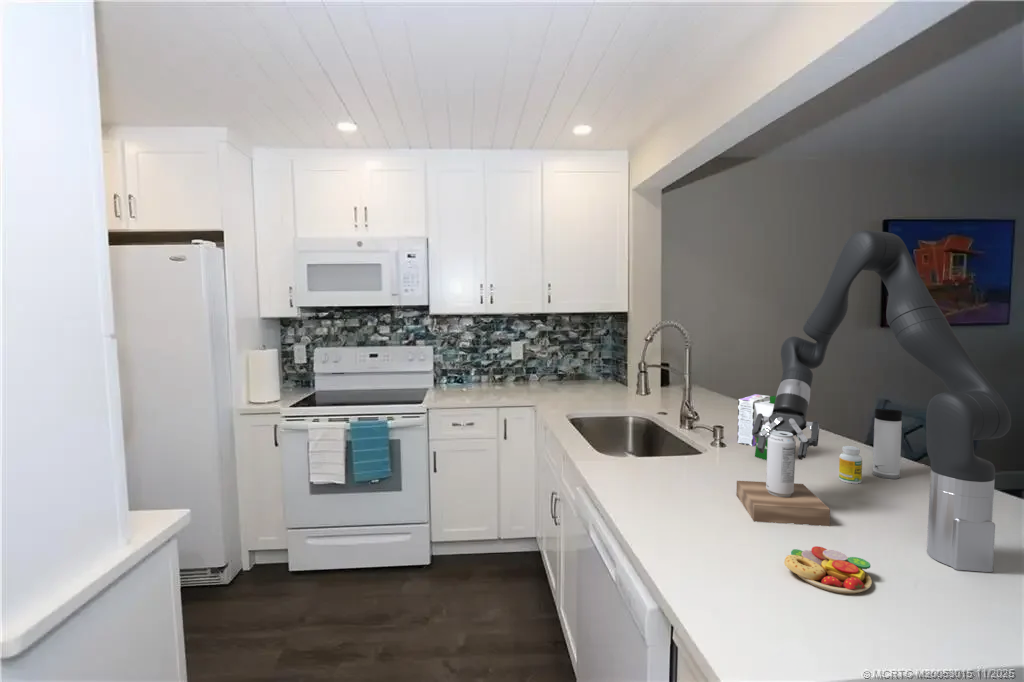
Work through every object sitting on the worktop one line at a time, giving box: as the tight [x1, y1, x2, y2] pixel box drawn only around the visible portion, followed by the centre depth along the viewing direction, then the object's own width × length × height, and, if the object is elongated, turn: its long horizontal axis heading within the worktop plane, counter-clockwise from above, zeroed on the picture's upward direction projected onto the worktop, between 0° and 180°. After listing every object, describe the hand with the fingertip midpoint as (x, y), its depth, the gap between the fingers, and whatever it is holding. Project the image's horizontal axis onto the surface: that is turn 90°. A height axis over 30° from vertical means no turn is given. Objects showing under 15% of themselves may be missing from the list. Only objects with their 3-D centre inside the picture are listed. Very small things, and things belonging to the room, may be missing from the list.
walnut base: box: [735, 480, 831, 527], centre depth 122 cm, size 16×16×4 cm
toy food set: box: [783, 546, 873, 595], centre depth 93 cm, size 13×13×3 cm
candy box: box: [736, 393, 771, 447], centre depth 181 cm, size 14×6×16 cm, turn 130°
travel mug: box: [872, 408, 903, 480], centre depth 143 cm, size 6×7×20 cm
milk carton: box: [754, 395, 776, 461], centre depth 161 cm, size 9×9×20 cm
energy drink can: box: [765, 431, 797, 497], centre depth 121 cm, size 6×6×15 cm
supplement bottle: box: [838, 445, 863, 485], centre depth 140 cm, size 5×5×10 cm
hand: (780, 454), depth 121 cm, fingers open, 8 cm apart
